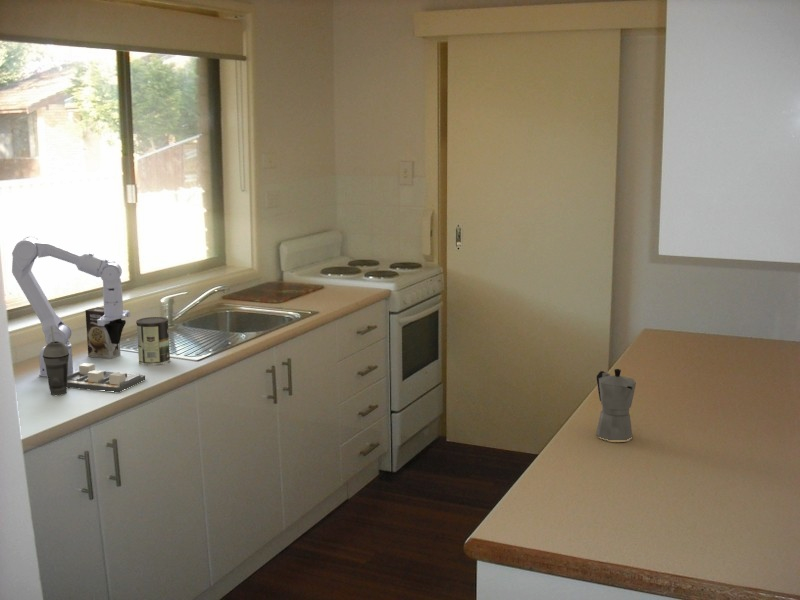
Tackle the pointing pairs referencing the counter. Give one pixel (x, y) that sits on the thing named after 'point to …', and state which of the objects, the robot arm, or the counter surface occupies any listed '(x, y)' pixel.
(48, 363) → the beverage cup
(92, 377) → the tab middle
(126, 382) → the switch panel
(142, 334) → the coffee can
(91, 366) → the tab left
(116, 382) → the tab right
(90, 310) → the coffee box
